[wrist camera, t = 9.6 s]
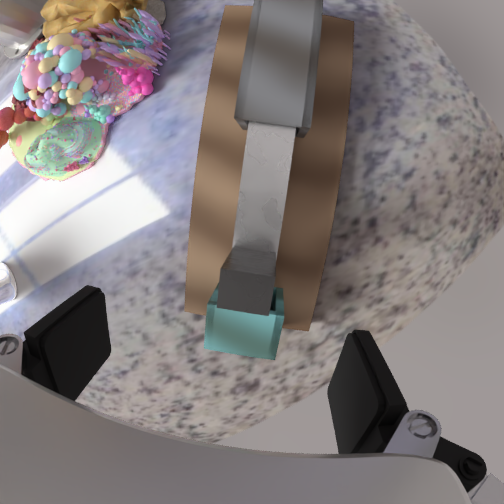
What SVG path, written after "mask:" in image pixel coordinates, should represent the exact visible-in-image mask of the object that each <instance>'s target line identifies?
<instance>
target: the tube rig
mask: <svg viewBox="0 0 504 504" xmlns="http://www.w3.org/2000/svg"><path fill="white" fill-rule="evenodd" d="M322 10H323V0H254V4H253V6H232V5H225V8H224V13H223V17H222V21H221V25H220V30H219V34H218V39H217V44H216V48H215V53H214V58H213V63H212V68H211V74H210V79H209V85H208V90H207V96H206V102H205V108H204V114H203V121H202V127H201V134H200V141H199V149H198V156H197V164H196V172H195V181H194V189H193V199H192V209H191V219H190V231H189V243H188V256H187V272H186V289H185V312H190V313H195V314H200V315H206V326H205V341H204V348H205V349H210V350H215V351H220V352H226V353H232V354H237V355H244V356H250V357H256V358H263V359H271V360H275V357H276V353H277V348H278V344H279V339H280V334H281V330H282V328H287V329H295V330H303V331H309V328H310V324H311V320H312V316H313V312H314V308H315V304H316V300H317V296H318V291H319V287H320V283H321V278H322V274H323V269H324V264H325V260H326V255H327V250H328V245H329V240H330V235H331V229H332V224H333V219H334V213H335V207H336V201H337V195H338V189H339V183H340V176H341V169H342V162H343V155H344V147H345V139H346V131H347V122H348V112H349V102H350V91H351V78H352V62H353V42H354V22H353V21H349V20H345V19H341V18H337V17H332V16H327V15H322ZM249 121H255V122H264V123H271V124H279V125H286V126H292V127H296V131H295V139H294V146H293V153H292V160H291V167H290V174H289V181H288V188H287V195H286V201H285V208H284V215H283V221H282V227H281V234H280V240H279V246H278V252H277V258H276V278H275V284H274V290H273V296H272V301H271V307H270V312H269V316H264V315H258V314H251V313H245V312H239V311H233V310H227V309H221V308H217V298H218V288H219V278H220V268H221V267H222V265H223V263H224V262H225V260H226V258H227V257H228V255H229V253H230V252H231V250H232V245H233V237H234V229H235V221H236V213H237V205H238V197H239V189H240V182H241V174H242V167H243V160H244V152H245V145H246V138H247V131H248V124H249Z"/></svg>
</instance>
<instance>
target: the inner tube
mask: <svg viewBox="0 0 504 504" xmlns="http://www.w3.org/2000/svg"><path fill="white" fill-rule="evenodd" d="M295 131H296V127H292V126H286V125H279V124H271V123H264V122H255V121H249V124H248V131H247V138H246V145H245V152H244V160H243V167H242V174H241V182H240V189H239V197H238V205H237V213H236V221H235V229H234V237H233V245H232V250H231V252H230V253H229V255H228V257H227V258H226V260H225V262H224V263H223V265H222V267H221V268H220V278H219V288H218V298H217V308H221V309H227V310H233V311H239V312H245V313H251V314H258V315H264V316H269V312H270V307H271V301H272V296H273V290H274V284H275V278H276V258H277V252H278V246H279V240H280V234H281V227H282V221H283V215H284V208H285V201H286V195H287V188H288V181H289V174H290V167H291V160H292V153H293V146H294V139H295Z"/></svg>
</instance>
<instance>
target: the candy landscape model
mask: <svg viewBox="0 0 504 504" xmlns="http://www.w3.org/2000/svg"><path fill="white" fill-rule="evenodd" d="M40 13H41V16H42V17H44V18H45V19H46V20H47V21H46V22H44V24H43V31H42V33H43V35H44V36H45V37H46V38H45V37H42V38H40V39H36V40H35V41H34V43H33V44H32V45H31V47H30V48H29V51H28V55H27V56H26V57H25V59H24V60H23V62H22V63H23V64H22V66H21V69H20V71H21V72H20V73H19V75H18V77H17V81H16V82H15V84H14V87H13V99H12V103H13V105H12V107H11V108H10V107H5V108H3V109H2V110H0V148H1V147H2V146H3V145H5V144H6V143H7V141H8V139H9V145H10V147H11V149H12V153H13V156H15V157H16V158H17V160H18V163H19V164H21V165H22V166H23V167H24V168H28V169H29V172H31V173H32V174H33V175H34V174H36V175H38V176H39V177H40V178H42V179H43V180H45V181H46V180H49V179H52V180H59V181H64V180H66V179H68V178H70V177H72V176H74V175H76V174H78V173H80V172H82V171H84V170H86V169H88V168H90V167H92V166H93V164H94V162H95V161H96V160H97V159H98V158H99V157H100V154H101V152H102V150H103V148H104V146H105V143H106V135H107V133H108V128H109V125H110V123H112V122H114V120H115V117H116V116H118V115H121V114H123V113H125V112H127V111H129V110H130V109H131V107H132V105H133V104H135V103H137V102H140V101H141V100H143V98H144V96H145V95H149V94H151V93H152V92H153V85H152V82H153V79H154V77H153V74H152V72H153V73H155V74H157V75H158V76H160V74H159V73H157V71H158V69H156V68H155V67H156V66H157V63H158V64H159V65H160V66H162V65H163V64H162V63H161V62H160V61H158V60H160V59H161V57H162V58H163V59H165V60H167V58H166V57H164V56H163V55H161V54H160V53H158V52H159V51H160V52H161V53H163V54H164V55H165V56H167V54H166V53H165V52H164V51H163V50H162V49H163V47H162V46H164V47H167V48H168V49H169V50H171V48H170V47H169V46H167V45H166V44H165V43H164V42H162V39H161V38H165V36H166V37H167V38H168V39H170V37H168V35H169V36H170V34H169V32H167V31H166V30H164V32H166V33H167V34H168V35H166V34H164V33H163V31H162V29H161V25H162V24H163V21H164V19H165V18H166V12H165V5H164V2H163V1H160V0H48V1H47V2H46V4H45V5H44V6H43V8H42V10H41V12H40ZM157 59H158V60H157ZM154 70H155V71H156V72H155V71H154ZM6 130H8V133H7V132H6Z"/></svg>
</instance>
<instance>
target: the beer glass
mask: <svg viewBox="0 0 504 504" xmlns="http://www.w3.org/2000/svg"><path fill="white" fill-rule="evenodd" d="M16 294H17V287H16V282H15V278H14V276H13V274H12V272H11V270H10V268H9V267H8V266H7V265H6V264H4V263H0V304H3V303H6V302H9V301H12V300H14V299H15V297H16Z"/></svg>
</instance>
